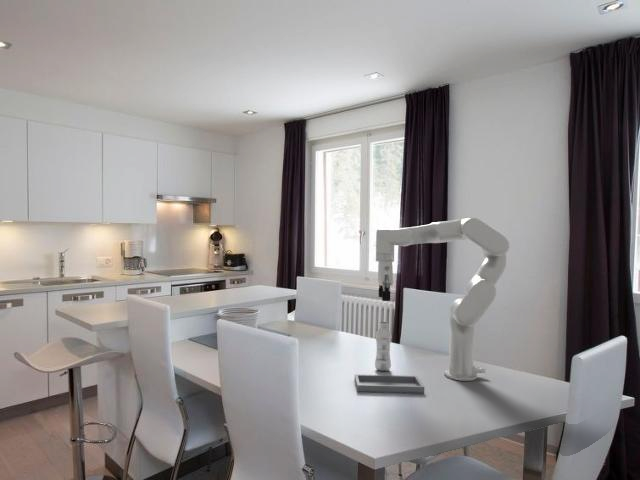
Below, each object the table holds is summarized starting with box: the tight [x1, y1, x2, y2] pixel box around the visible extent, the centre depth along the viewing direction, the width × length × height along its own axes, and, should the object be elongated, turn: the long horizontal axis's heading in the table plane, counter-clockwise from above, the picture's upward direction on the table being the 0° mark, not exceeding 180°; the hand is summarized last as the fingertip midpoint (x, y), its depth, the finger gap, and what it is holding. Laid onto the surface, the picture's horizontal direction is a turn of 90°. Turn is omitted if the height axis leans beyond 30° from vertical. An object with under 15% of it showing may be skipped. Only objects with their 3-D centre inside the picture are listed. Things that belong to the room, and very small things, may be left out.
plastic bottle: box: [374, 321, 392, 372], centre depth 183 cm, size 6×7×20 cm
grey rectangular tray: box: [354, 373, 425, 395], centre depth 164 cm, size 24×12×3 cm, turn 91°
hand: (384, 299), depth 183 cm, fingers open, 9 cm apart
